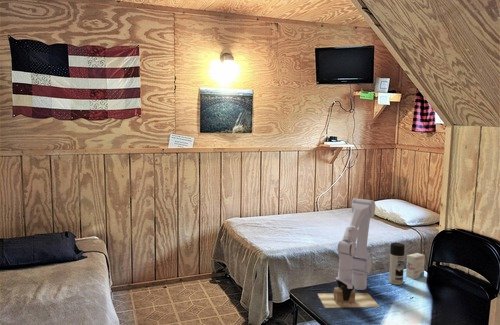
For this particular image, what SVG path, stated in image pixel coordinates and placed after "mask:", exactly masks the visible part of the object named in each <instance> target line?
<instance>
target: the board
mask: <svg viewBox="0 0 500 325" xmlns="http://www.w3.org/2000/svg"><path fill="white" fill-rule="evenodd" d="M317 296H318V298H319V299H320V302H321V303H322V305H323V307H324V309H326V308H327V309H328V308H332V309H333V308H379V307H381V306H380V305H379V304H378V303H377V301H376V300H375V299H374V298H373V297H372V295H370V293H369V292H355V302H354V303H337V302H336V301H335V299H334V292H333V293H332V292H331V293H330V292H329V293H324V292H322V293H317Z"/></svg>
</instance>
